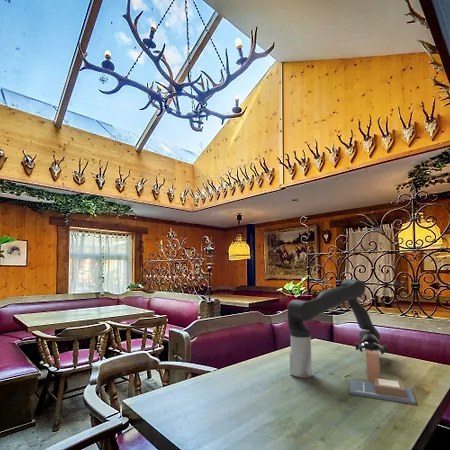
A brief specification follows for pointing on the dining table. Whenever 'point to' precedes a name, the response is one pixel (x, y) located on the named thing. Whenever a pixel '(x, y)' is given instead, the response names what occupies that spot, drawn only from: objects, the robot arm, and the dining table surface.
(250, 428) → the dining table surface
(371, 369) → the terracotta pillar
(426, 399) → the dining table surface
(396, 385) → the blueprint board
